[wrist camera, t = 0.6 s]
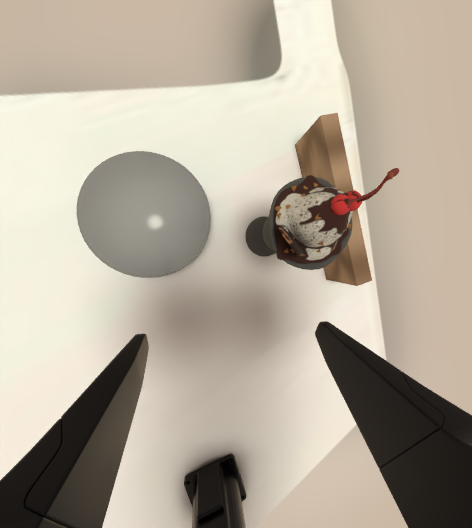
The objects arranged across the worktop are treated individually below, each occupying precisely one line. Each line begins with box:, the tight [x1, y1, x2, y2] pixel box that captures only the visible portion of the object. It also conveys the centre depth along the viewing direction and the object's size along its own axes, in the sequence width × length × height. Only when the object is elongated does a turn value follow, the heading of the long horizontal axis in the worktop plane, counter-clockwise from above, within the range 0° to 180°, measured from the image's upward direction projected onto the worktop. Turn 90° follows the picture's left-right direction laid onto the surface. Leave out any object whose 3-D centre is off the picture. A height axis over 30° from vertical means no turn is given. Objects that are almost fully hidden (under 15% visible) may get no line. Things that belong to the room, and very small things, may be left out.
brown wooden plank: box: [295, 113, 372, 286], centre depth 22 cm, size 18×2×5 cm, turn 16°
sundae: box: [246, 168, 399, 270], centre depth 16 cm, size 7×7×15 cm
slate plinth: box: [77, 151, 210, 278], centre depth 19 cm, size 12×12×3 cm
